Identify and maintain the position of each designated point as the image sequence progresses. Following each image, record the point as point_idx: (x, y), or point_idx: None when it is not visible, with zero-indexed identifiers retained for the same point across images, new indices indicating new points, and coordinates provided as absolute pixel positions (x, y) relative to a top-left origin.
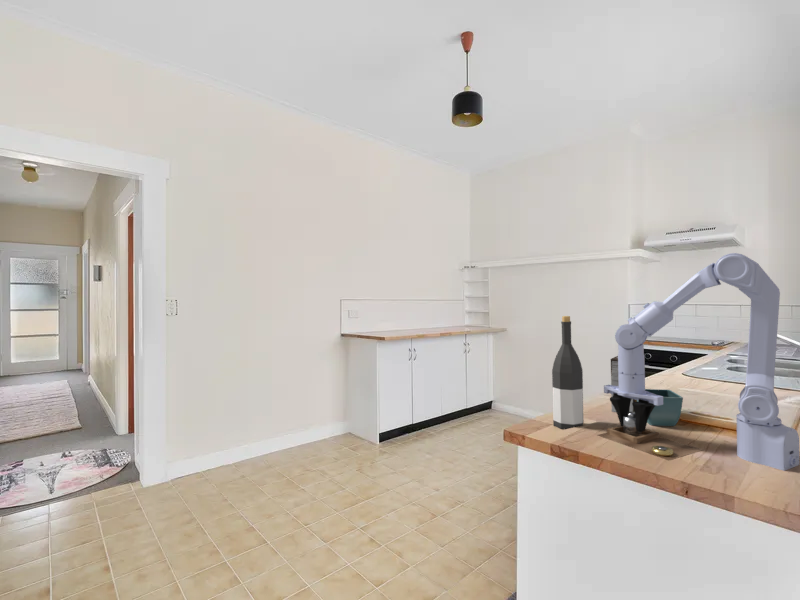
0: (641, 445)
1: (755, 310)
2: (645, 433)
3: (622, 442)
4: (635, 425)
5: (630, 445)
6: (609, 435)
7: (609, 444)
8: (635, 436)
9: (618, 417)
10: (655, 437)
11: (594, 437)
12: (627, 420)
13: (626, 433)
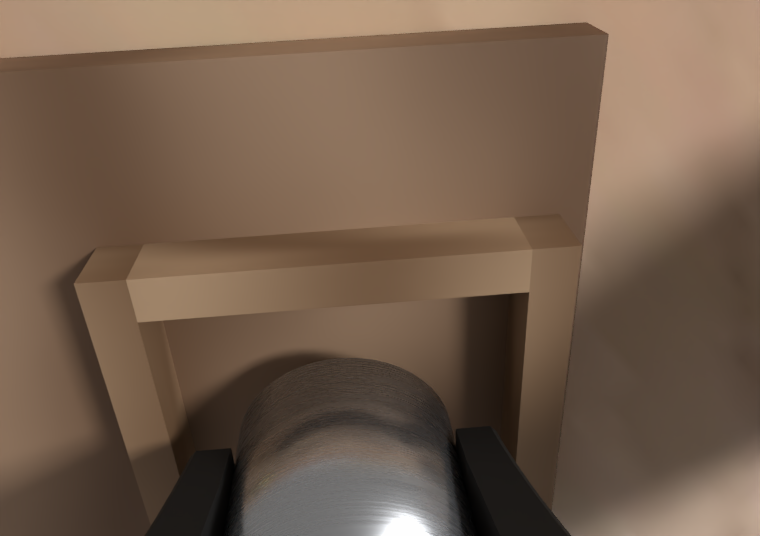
0: (18, 248)
1: None
2: None
3: (196, 118)
4: (236, 497)
5: (54, 121)
6: (491, 184)
7: (348, 10)
8: None
9: (539, 504)
10: None
11: (648, 47)
12: (330, 501)
13: None
